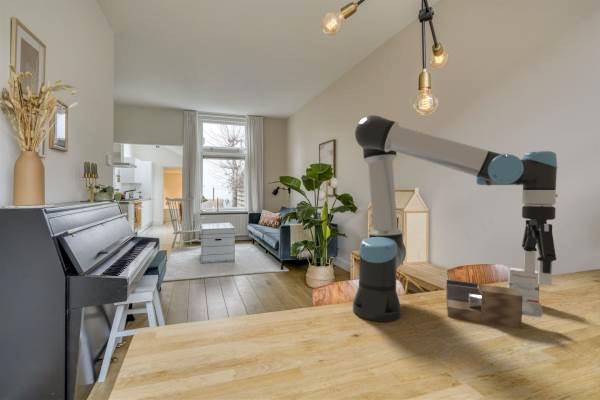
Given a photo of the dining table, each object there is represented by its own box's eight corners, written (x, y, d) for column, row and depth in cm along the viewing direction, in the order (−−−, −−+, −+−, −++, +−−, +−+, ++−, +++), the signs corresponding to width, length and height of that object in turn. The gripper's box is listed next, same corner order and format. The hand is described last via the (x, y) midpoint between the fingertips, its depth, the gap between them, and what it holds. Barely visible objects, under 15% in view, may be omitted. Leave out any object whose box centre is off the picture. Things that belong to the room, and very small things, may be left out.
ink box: (536, 303, 104) (538, 270, 104) (538, 308, 100) (540, 273, 100) (507, 298, 109) (508, 266, 109) (507, 302, 105) (509, 269, 104)
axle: (469, 308, 91) (470, 296, 91) (468, 303, 95) (468, 291, 95) (541, 319, 84) (542, 306, 84) (537, 313, 88) (538, 301, 87)
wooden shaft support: (447, 316, 92) (448, 286, 92) (446, 308, 99) (447, 280, 98) (521, 328, 85) (522, 296, 84) (514, 319, 91) (516, 288, 91)
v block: (447, 301, 105) (447, 284, 105) (446, 295, 111) (446, 279, 111) (479, 306, 101) (480, 289, 101) (476, 299, 107) (477, 283, 107)
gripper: (574, 207, 72) (571, 293, 73) (539, 204, 95) (538, 269, 96) (536, 207, 75) (534, 288, 76) (511, 203, 98) (510, 266, 99)
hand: (536, 277), depth 86 cm, fingers open, 13 cm apart
